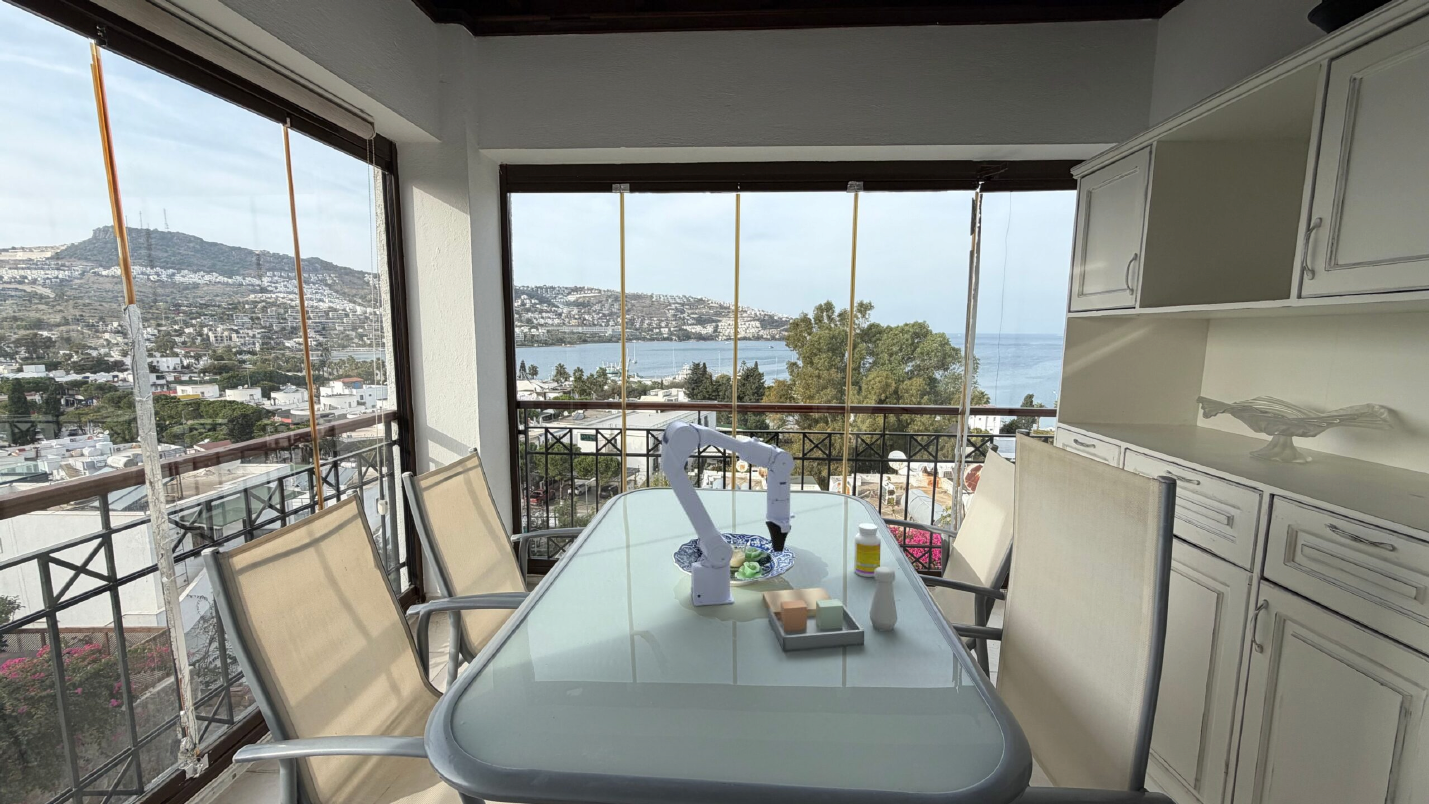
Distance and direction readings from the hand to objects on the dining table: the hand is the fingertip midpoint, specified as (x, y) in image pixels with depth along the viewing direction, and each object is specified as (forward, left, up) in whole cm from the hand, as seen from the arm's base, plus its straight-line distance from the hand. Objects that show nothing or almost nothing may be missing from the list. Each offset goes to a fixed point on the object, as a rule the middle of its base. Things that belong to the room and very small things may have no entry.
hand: (777, 550), depth 138 cm
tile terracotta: (-1, -18, -7) cm, 19 cm away
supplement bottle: (+26, +6, -10) cm, 29 cm away
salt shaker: (+18, -21, -10) cm, 29 cm away
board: (+3, -10, -10) cm, 14 cm away
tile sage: (+6, -18, -7) cm, 20 cm away
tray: (+3, -21, -10) cm, 24 cm away
